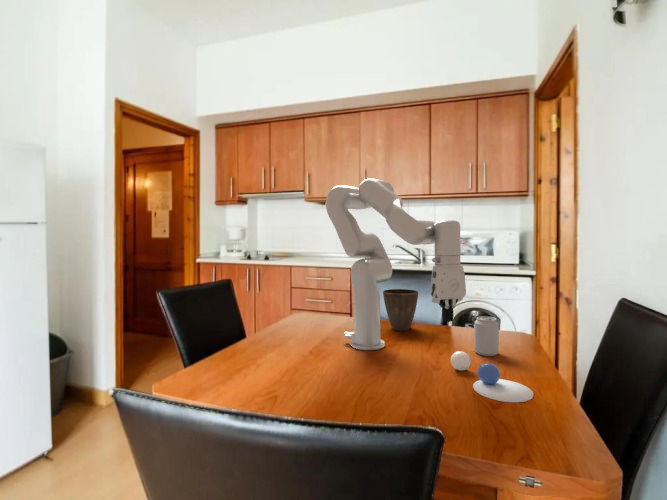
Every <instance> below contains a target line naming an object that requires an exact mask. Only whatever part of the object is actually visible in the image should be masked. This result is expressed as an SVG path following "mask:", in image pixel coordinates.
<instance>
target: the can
mask: <svg viewBox="0 0 667 500" xmlns="http://www.w3.org/2000/svg"><path fill="white" fill-rule="evenodd" d="M499 325H500V324H499V322H498V321H497V318H496V317H492V316H485V315H484V316H477V317H476V320H475V321H474V351H475V352H476V353H477V354H478V355H480V356H483V357H484V356H485V357H494V356H496V355H497V354H499V352H500V348H499V345H500V343H499V339H500V336H499V335H500V329H499V327H500V326H499Z"/></svg>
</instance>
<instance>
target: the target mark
mask: <svg viewBox="0 0 667 500" xmlns="http://www.w3.org/2000/svg"><path fill="white" fill-rule="evenodd" d="M472 388H473V390H474V391H475V392H476V393H477V394H479V395H481V396H482V397H484V398H487V399H490V400H494V401H499V402H502V403H524V402H527V401H531V399H533V398H534V391H532V389H530V387H528V386H526V385H524V384H522V383H519V382H516V381H513V380H507V379H502V378H499V380H498V382H496V383H495V384H486V383H484V382H482V381H481V380H480V379H479V380H476V381H475V382H474V383H473V385H472Z"/></svg>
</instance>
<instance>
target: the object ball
mask: <svg viewBox="0 0 667 500" xmlns="http://www.w3.org/2000/svg"><path fill="white" fill-rule="evenodd" d="M477 377H478V378H479V380H481V381H482V382H484V383H486V384H495V383H496V382H498V380H499V379H501V378H500V377H501V371H500V369H499V368H498V367H497V366H496V365H495V364H494V363H491V362H484V363H481V365H479V367H478V369H477Z"/></svg>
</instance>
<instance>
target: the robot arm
mask: <svg viewBox="0 0 667 500" xmlns="http://www.w3.org/2000/svg"><path fill="white" fill-rule="evenodd" d="M325 200H326V201H325V209H326V212H327V215H328V219H330V221H331V223H332V225H333V228H334V229H335V232H336V234H337V236H338V239H339V241H340V243H341V246H342V247H343V250H344V252H345V254H346V255H347V256H348V257H349V258H352V259H358V260H356V261H355V262H354V263H353V264H352V266H351V267H350V281H351V284H352V291H353V323H354V324H353V329H354V331H352V332H349V331H344V334H343V336H344V339H350V343H349V345H351V346H352V348H353V349H355V348H356V350H360V351H375V350H380V349H383V348H384V347H385V346H386V342H385V340H383V339H381V337H382V336H381V335H382V334H381V295H380V291H379V289H378V286H377V284H381V283H385V282H387V281H388V280H390V278H392V274H393V265H392V262H391V260H390V258H389V256H388V254H387V252H386V249H385V247H384V244H383V243H382V241H381V239H380V238H379V237H378V236H377V235H376V234H374V233H373V232H369V231H367V232H366V231H362V229H361V227H360V226H359V224H358V221H357V219H356V218H355V216H353V214H352V213H351V212H350V211H349V210H365V209H369V208H373V210H375V211H376V212H377V213H379V215H381V216H382V217H383V218H384V219H385V222H386V223H387V225H388V228H389V229H390V230H391V231H392V232H393V233H394V234H396V236H398V237H399V238H401V239H402V240H403V241H405V243H407V244H410V245H414V246H418V245H423V246H425V245H432V244H434V257H433V258H431V262H432V263H434V265H433V266H432V270H431V278H430V281H431V282H430V295H431V298H432V299H431V302H432V303H434V304H437V305H439V307H440V308H441V317H442V318H441V319H442V321H444V322H448V323H453V322H454V309H455V308H456V305H457V303H458V302H461V301H463V299H464V297H466V294H467V288H466V287H467V286H466V276H465V270H464V266H463V265H462V264H461V223H460V222H459V221H457V220H449V219H448V220H438V221H435V220H434V221H432V220H417V219H416V218H414V217H412V216H411V215H410V214H409V213H408V212H406V211H405V210H404V209H403V207H404V200H403V198H402V197H400V196H399V195H397V193H395V191H394V186H393V185H392V184H391V183H390V182H389V181H386V180H382V179H378V178H377V179H376V178H367V179H364V180H362V181H361V182H360V183H359V185H358V186H351V185H335V186H334V187H332V188H331V189H330V190H329V192H328V193H327V196H326V199H325ZM361 258H362V259H361ZM351 346H350V347H351Z"/></svg>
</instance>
